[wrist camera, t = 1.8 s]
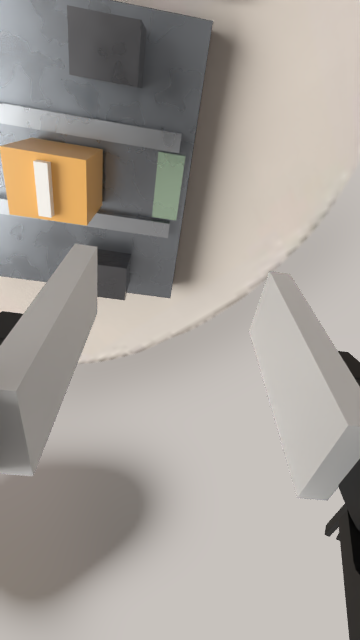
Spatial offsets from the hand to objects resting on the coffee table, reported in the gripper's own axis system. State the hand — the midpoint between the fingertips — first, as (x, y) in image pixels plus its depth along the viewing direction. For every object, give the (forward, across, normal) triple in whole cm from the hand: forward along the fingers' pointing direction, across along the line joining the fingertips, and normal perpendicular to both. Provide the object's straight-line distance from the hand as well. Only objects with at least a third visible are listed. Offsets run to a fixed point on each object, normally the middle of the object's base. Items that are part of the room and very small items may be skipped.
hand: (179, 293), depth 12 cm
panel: (+19, -8, 0) cm, 21 cm away
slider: (+16, -9, 0) cm, 18 cm away
